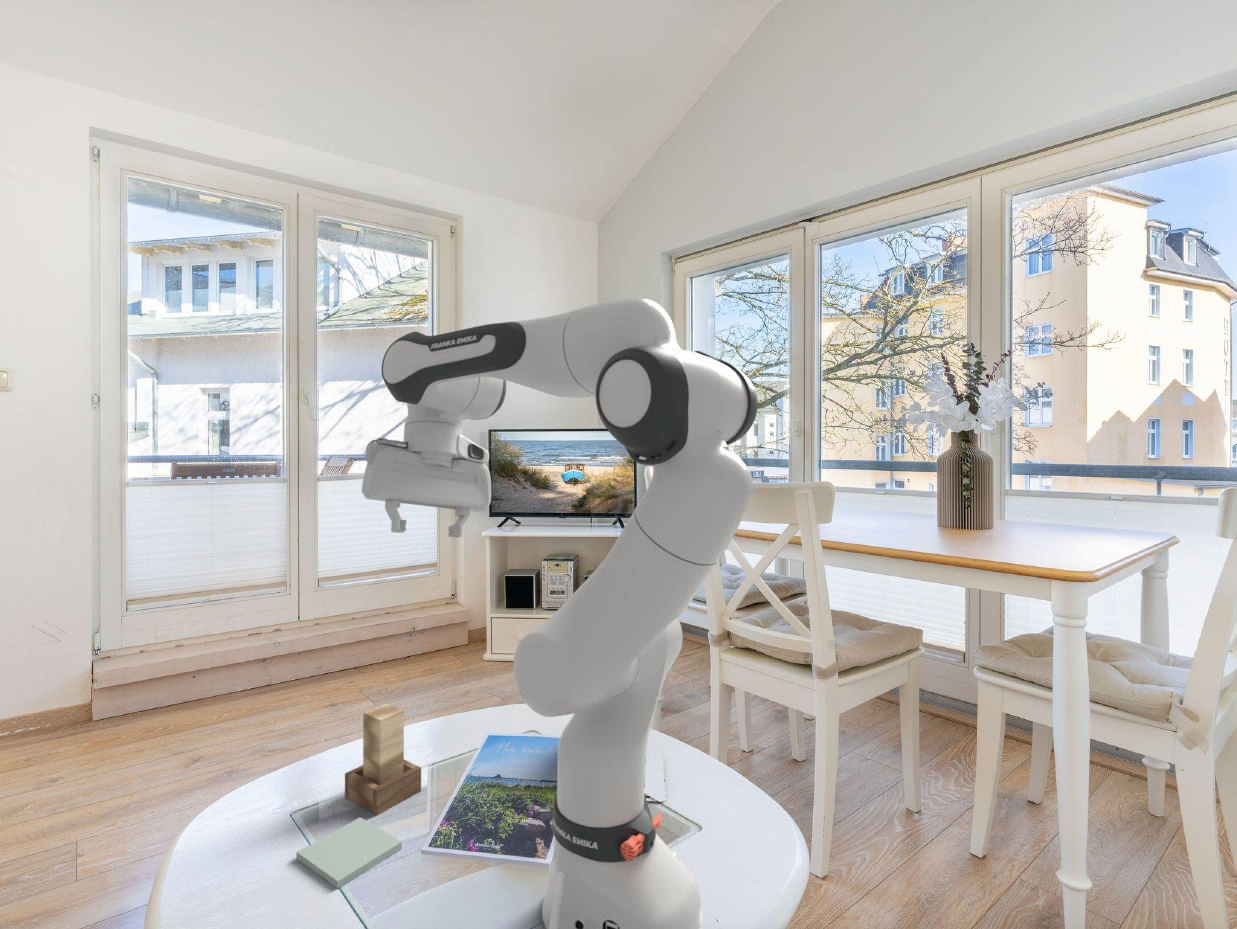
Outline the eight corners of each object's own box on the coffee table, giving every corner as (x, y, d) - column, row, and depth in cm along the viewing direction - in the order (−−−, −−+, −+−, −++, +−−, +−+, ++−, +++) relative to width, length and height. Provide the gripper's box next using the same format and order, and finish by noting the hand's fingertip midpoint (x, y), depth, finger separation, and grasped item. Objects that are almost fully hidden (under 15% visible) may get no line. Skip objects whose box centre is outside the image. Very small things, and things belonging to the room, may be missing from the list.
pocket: (421, 790, 107) (421, 767, 107) (376, 815, 100) (376, 790, 100) (389, 774, 112) (389, 752, 111) (344, 797, 105) (344, 773, 104)
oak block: (403, 792, 106) (403, 710, 106) (380, 805, 103) (380, 720, 102) (386, 783, 109) (386, 703, 108) (363, 795, 105) (363, 712, 104)
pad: (401, 848, 92) (401, 841, 92) (337, 888, 84) (337, 881, 84) (360, 823, 98) (360, 817, 98) (296, 858, 89) (296, 851, 89)
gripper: (377, 430, 91) (369, 526, 88) (497, 454, 105) (495, 537, 102) (358, 439, 96) (350, 531, 92) (476, 460, 109) (473, 541, 106)
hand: (427, 534), depth 97 cm, fingers open, 8 cm apart
